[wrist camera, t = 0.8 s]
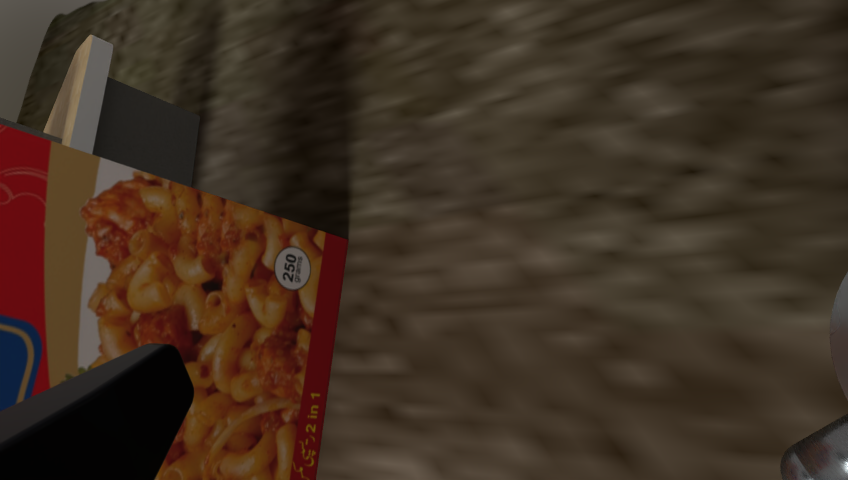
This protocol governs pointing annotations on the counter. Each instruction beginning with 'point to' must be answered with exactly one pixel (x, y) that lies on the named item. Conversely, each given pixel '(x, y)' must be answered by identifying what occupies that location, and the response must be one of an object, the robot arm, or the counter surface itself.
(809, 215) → the counter surface
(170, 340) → the pasta box
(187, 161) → the architectural model
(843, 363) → the spout can
